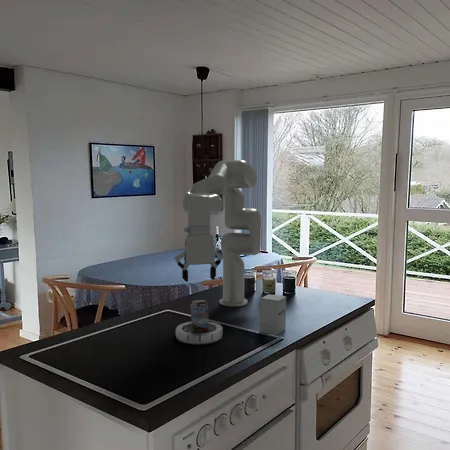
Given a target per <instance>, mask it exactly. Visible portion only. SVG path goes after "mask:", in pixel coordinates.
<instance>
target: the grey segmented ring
mask: <svg viewBox="0 0 450 450" xmlns="http://www.w3.org/2000/svg"><path fill="white" fill-rule="evenodd" d="M208 324H209V332H207V333H204V334H194V333H192V332H191V321H186V322H183V323H181V324H178V325H177V326H176V328H175V336H176V339H177V340H178V342H180V343H184V344H189V345H208V344H209V345H210V344H214V343H216V342H219V341H220V340H222V338H223V333H224V332H223V331H224V327H223V326H222V325H221V324H220V323H217V322H213V321H209V320H208Z"/></svg>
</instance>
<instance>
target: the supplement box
mask: <svg viewBox="0 0 450 450" xmlns="http://www.w3.org/2000/svg"><path fill="white" fill-rule="evenodd" d="M286 312H287V296H284V295H279V294H266V295H265V296H263V297H262V296H261V297H260V298H259V332H261V333H265V334H270V335H274V336H278V335H280V334H281V333H282V332H284V331H286V318H287V317H286V315H287V313H286Z"/></svg>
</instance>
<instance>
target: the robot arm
mask: <svg viewBox="0 0 450 450" xmlns="http://www.w3.org/2000/svg"><path fill="white" fill-rule="evenodd" d="M257 177H258V176H257V172H256V171H255V168H254V167H253V166H252V165H251V164H250V163H249V162H248V161H246V160H244V159H237V160H236V159H232V160H231V159H229V160H228V159H225V160H220V161H218V162H217V163H216V164H215V166H214V167H213V169H212V170H211V172H210V174H209V175H208V176H207V177H205V178H203V179H202V180H199V181H197V182H195V183H193V184H192V185H191V186H189V188H188V189H187V191H186V193H185V194H184V196H183V199H182V209H183V211H184V212H185V214H187V218H188V219H187V224H188V225H187V226H186V227H184V229H183V231H184V233H187V234H186V237H185V241H184V242H185V243H184V250H183V252H181V253H179V254H178V255H176V256H174V258H173V259H174V260H175V263H176V264H177V266H178V267H180V268H181V274H182V275H181V276H182V277H181V278H182V279H183V280H184V281H185V282H186V283H187V282H188V281H189V270H188V268H189V266H194V265H195V266H196V265H198V266H199V265H200V266H201V265H210V267H209V270H210V271H209V278H210V279H211V280H215V279H216V277H217V268H218V266H219V265H220V264H221V262H222V298H221V299H219V301H218V302H219V304H220V305H222V306H225V307H234V308H235V307H242V306H246V305H248V299H246V298H245V263H244V262H245V261H244V260H243V259H242V257H241V256H257V255H258V254H259V253H260V251H261V248H262V246H261V244H262V216H261V213H260V211H259V210H258V209H256V208H249V207H247V208H246V207H245V197H244V194H243V192H242V191H241V189H253V188H254V187H255V185H256V184H257V181H258V180H257ZM222 194H223V197H224V201H223V199H222V197H221V196H220V195H222ZM223 202H224V203H223ZM223 206H224V224H225V228H227V229H229V230H235V231H248V232H249V233H248V232H227V233H224V234H223V235H222V237H221V238H220V239H221V240H220V245H221V253H222V254H221V253H220V252H218V251H216V250H215V240H214V236H213V234H211V216H215V215H216V216H217V215H218V214H220V213H221V211H222V209H223ZM216 256H217V259H216ZM181 259H183V261H184V262H183V263H182V262H181Z"/></svg>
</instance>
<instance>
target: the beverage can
mask: <svg viewBox="0 0 450 450" xmlns="http://www.w3.org/2000/svg"><path fill="white" fill-rule="evenodd" d="M208 321H209V304H208V302H207V300H206V299H197V300H192V301H191V304H190V322H191V332H192V333H194V334H204V333H207V332H209V324H208Z"/></svg>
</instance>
